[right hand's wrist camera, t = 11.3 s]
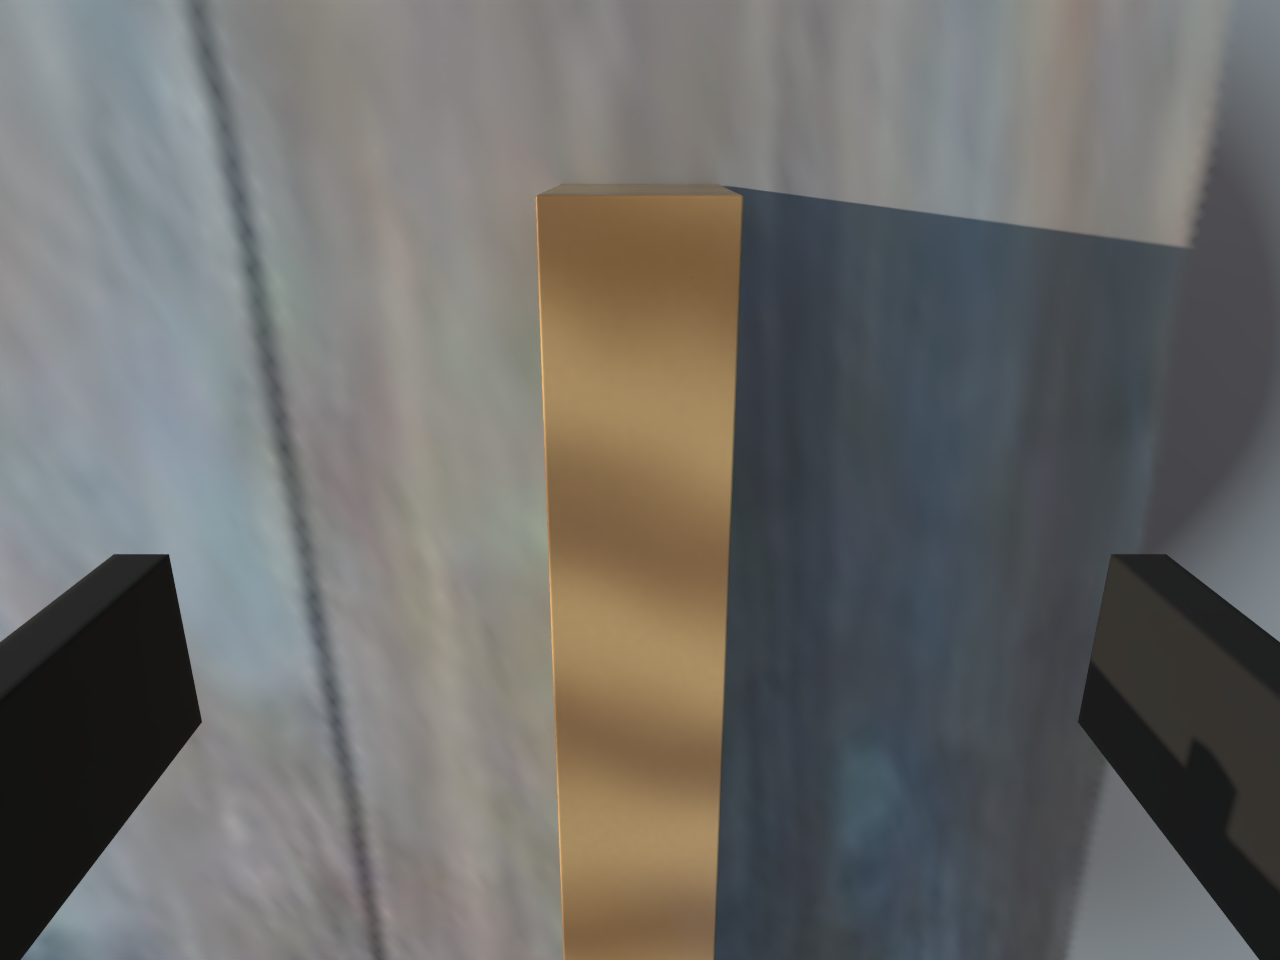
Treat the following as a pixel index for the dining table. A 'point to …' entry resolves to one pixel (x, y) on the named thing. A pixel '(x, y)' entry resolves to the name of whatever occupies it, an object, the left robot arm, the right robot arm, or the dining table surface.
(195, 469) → the dining table surface
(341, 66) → the dining table surface
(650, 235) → the bar
